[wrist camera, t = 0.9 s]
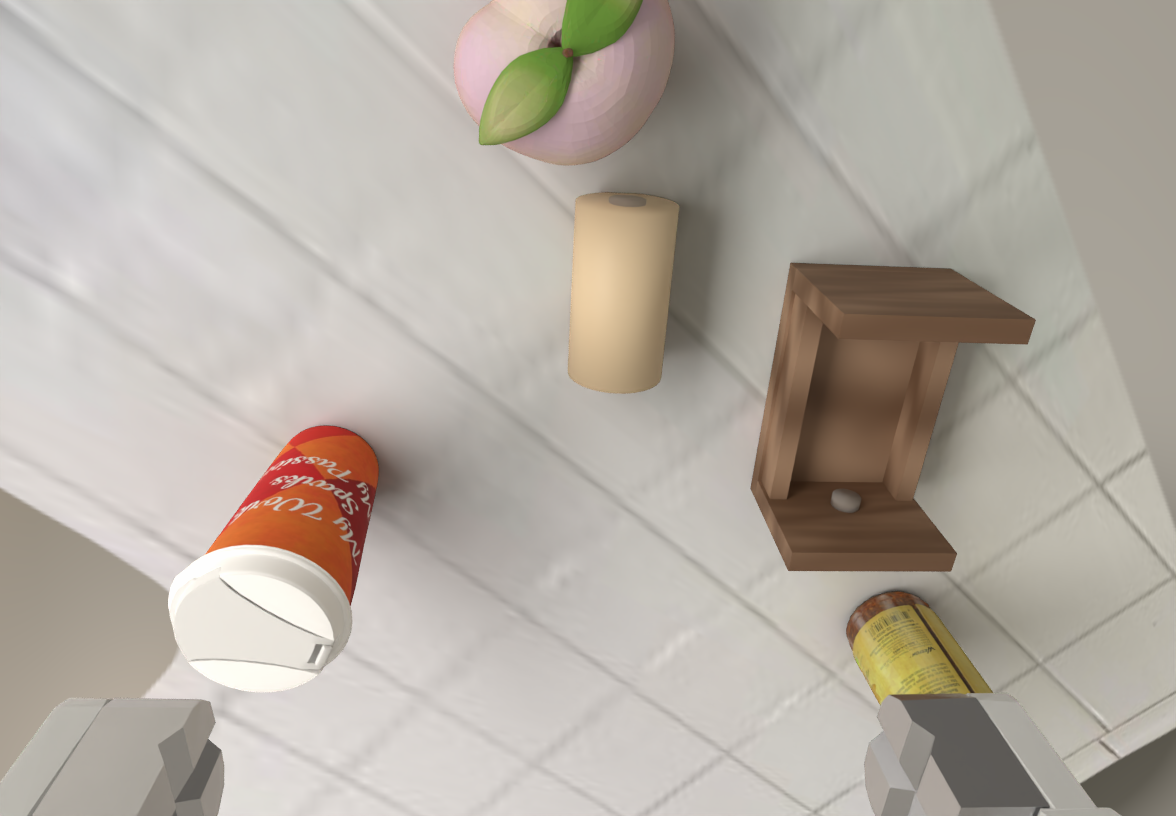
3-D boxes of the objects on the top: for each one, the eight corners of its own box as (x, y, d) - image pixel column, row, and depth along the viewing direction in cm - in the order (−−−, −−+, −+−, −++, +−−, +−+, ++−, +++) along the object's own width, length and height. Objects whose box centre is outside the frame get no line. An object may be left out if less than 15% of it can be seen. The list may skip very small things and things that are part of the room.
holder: (790, 263, 41) (843, 313, 34) (950, 268, 42) (1035, 319, 35) (750, 488, 48) (788, 570, 41) (889, 490, 48) (951, 571, 41)
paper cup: (417, 438, 45) (371, 601, 32) (371, 536, 48) (313, 720, 35) (284, 387, 43) (180, 538, 30) (245, 492, 46) (136, 670, 33)
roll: (571, 186, 39) (581, 208, 34) (667, 190, 39) (690, 211, 35) (563, 357, 43) (572, 397, 38) (651, 358, 44) (669, 396, 39)
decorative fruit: (584, 183, 39) (599, 232, 30) (440, 87, 36) (409, 110, 27) (695, 8, 35) (749, 5, 26) (545, -110, 33) (548, -157, 24)
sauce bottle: (830, 649, 54) (972, 953, 37) (860, 580, 52) (1028, 872, 34) (915, 658, 55) (1093, 958, 38) (948, 590, 53) (1158, 880, 35)
